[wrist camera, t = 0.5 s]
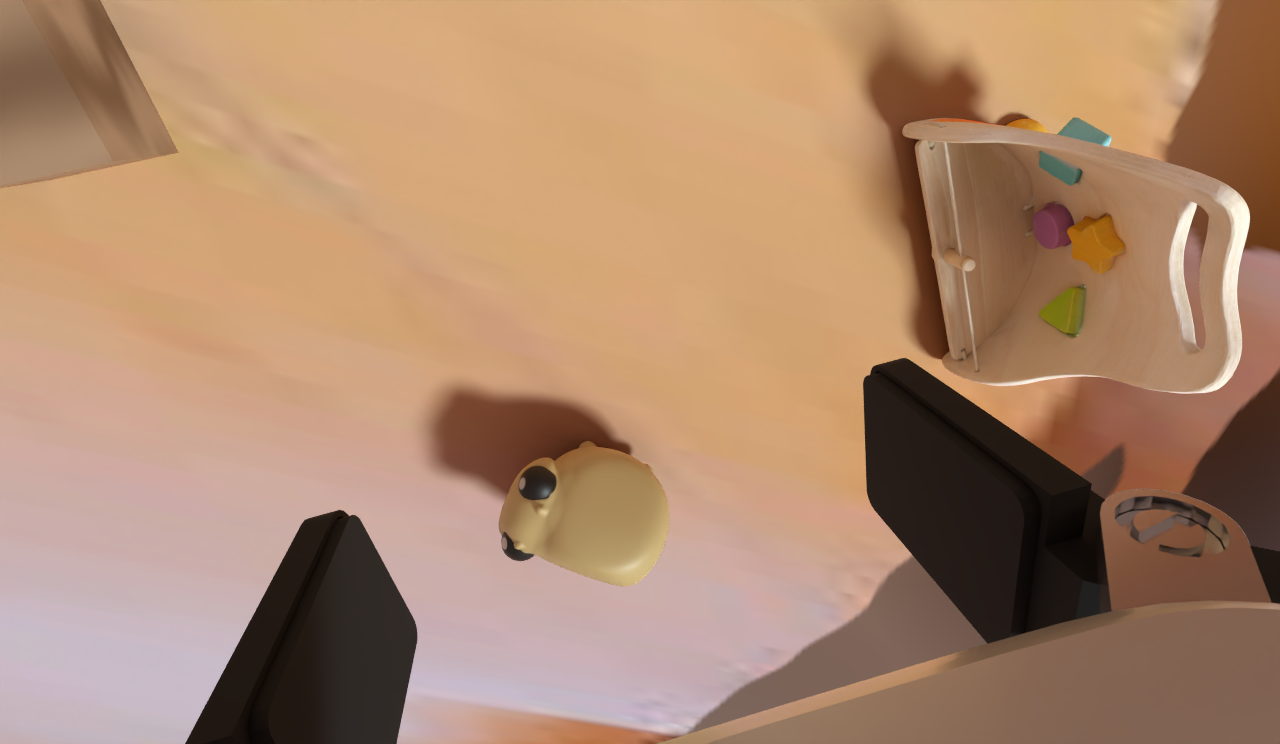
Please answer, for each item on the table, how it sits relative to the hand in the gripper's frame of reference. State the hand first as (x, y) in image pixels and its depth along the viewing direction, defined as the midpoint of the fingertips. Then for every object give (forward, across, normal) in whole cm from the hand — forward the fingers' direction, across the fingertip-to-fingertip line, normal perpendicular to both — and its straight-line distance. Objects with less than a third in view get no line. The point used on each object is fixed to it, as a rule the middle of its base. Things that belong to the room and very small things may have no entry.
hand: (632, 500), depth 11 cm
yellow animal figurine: (+31, +4, +20) cm, 37 cm away
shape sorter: (+31, -30, +9) cm, 45 cm away
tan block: (+31, +23, -12) cm, 41 cm away
